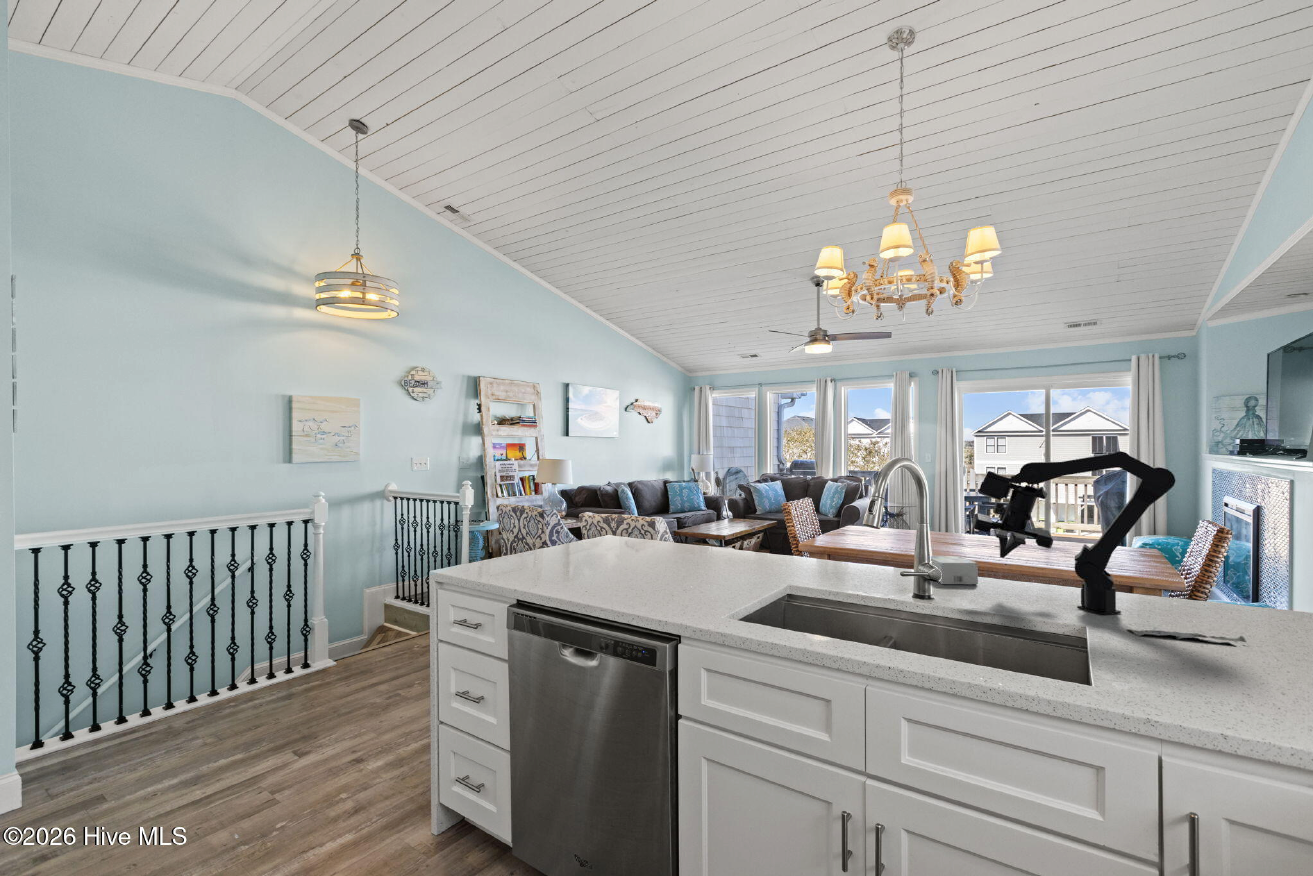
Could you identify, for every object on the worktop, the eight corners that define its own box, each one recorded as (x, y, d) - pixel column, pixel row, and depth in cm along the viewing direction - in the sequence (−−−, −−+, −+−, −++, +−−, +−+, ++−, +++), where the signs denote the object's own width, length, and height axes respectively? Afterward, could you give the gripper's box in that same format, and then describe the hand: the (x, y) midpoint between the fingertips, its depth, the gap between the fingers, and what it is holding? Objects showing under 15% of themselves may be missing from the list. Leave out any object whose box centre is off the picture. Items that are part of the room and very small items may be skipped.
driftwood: (1132, 638, 129) (1132, 628, 129) (1122, 629, 135) (1122, 620, 135) (1258, 653, 120) (1258, 643, 120) (1242, 643, 127) (1242, 633, 127)
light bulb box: (978, 585, 175) (963, 577, 186) (978, 562, 175) (962, 556, 186) (940, 584, 176) (927, 577, 186) (940, 561, 176) (927, 555, 187)
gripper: (1053, 504, 163) (1034, 553, 168) (979, 486, 169) (962, 534, 174) (1062, 521, 153) (1041, 572, 159) (983, 502, 159) (965, 552, 165)
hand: (1001, 557), depth 164 cm, fingers closed
